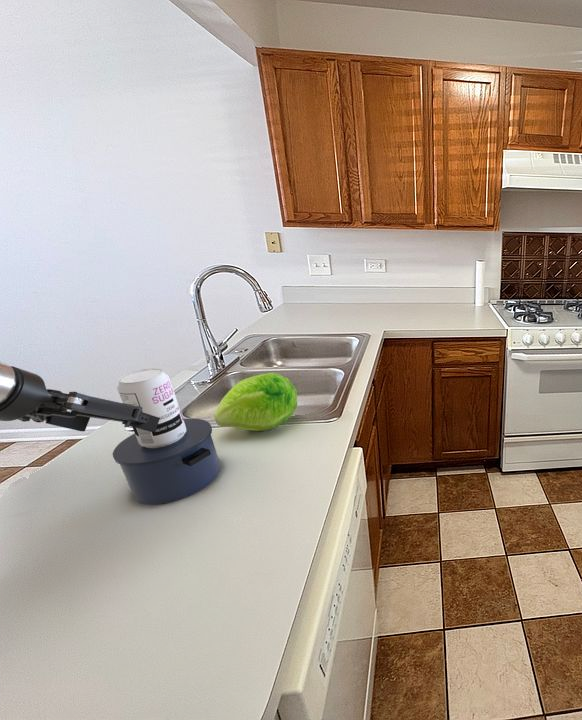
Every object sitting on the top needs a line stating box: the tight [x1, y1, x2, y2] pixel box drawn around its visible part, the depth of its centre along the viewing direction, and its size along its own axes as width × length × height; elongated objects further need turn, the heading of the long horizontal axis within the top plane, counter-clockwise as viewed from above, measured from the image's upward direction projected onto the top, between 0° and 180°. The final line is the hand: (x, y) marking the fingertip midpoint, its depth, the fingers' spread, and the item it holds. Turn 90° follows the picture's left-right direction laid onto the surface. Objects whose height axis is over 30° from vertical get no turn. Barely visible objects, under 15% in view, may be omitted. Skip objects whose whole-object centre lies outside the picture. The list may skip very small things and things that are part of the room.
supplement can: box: [116, 367, 186, 448], centre depth 82 cm, size 8×8×15 cm
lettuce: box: [213, 372, 298, 432], centre depth 107 cm, size 17×20×15 cm
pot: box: [112, 417, 222, 506], centre depth 87 cm, size 20×17×11 cm
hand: (120, 424), depth 75 cm, fingers open, 13 cm apart
